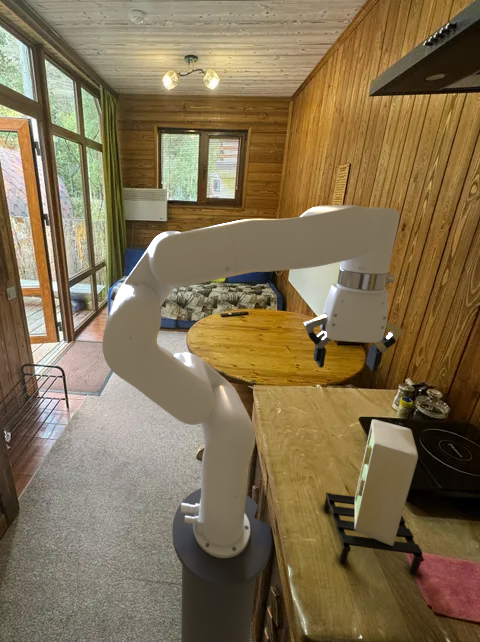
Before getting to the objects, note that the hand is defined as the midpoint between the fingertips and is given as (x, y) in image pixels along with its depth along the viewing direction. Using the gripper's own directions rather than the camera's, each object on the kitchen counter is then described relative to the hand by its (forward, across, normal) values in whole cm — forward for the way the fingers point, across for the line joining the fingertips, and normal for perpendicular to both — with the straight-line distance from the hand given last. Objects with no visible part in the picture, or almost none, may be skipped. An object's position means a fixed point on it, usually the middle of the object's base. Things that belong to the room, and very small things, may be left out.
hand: (344, 366), depth 60 cm
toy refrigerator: (+32, -8, +6) cm, 33 cm away
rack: (+36, -8, +6) cm, 38 cm away
